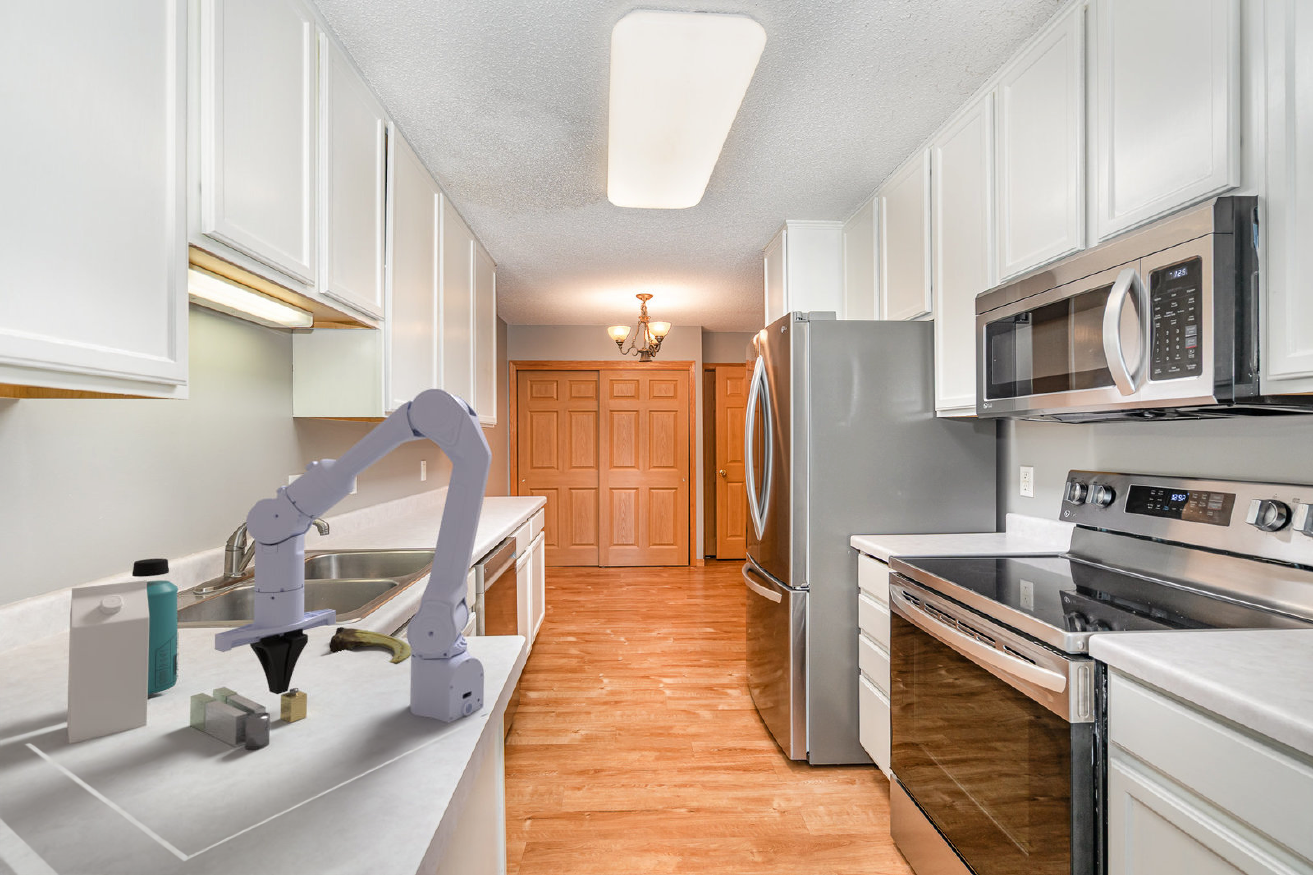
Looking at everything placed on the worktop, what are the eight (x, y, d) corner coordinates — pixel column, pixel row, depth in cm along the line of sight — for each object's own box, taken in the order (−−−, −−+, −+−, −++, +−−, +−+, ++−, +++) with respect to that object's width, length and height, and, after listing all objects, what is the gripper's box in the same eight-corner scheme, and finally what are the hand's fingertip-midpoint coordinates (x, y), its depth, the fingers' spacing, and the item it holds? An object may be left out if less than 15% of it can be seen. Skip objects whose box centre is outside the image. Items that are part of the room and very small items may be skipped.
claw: (309, 651, 113) (310, 632, 113) (357, 636, 122) (358, 619, 122) (391, 670, 105) (392, 649, 105) (435, 653, 114) (436, 634, 114)
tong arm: (265, 736, 76) (266, 706, 76) (253, 740, 75) (254, 709, 75) (223, 714, 82) (224, 686, 82) (212, 718, 81) (212, 689, 81)
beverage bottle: (182, 697, 91) (185, 559, 91) (122, 711, 86) (126, 565, 86) (172, 686, 95) (175, 553, 96) (114, 699, 90) (118, 559, 91)
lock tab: (306, 717, 81) (306, 688, 81) (290, 722, 80) (291, 694, 80) (296, 712, 83) (296, 685, 83) (280, 718, 81) (280, 690, 81)
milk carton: (66, 736, 79) (70, 583, 79) (140, 719, 84) (143, 576, 84) (68, 756, 74) (73, 593, 74) (146, 737, 79) (150, 584, 79)
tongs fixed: (273, 746, 74) (274, 712, 74) (247, 756, 72) (248, 721, 72) (215, 719, 81) (216, 688, 81) (190, 727, 79) (190, 696, 79)
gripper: (315, 575, 92) (315, 669, 92) (203, 595, 79) (201, 703, 79) (344, 580, 88) (344, 678, 88) (231, 602, 76) (230, 716, 76)
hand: (278, 691), depth 83 cm, fingers closed
